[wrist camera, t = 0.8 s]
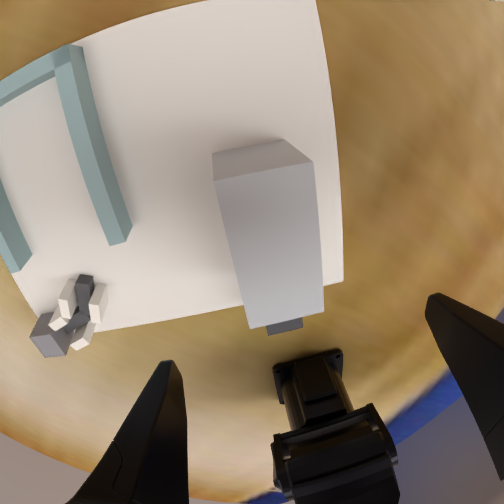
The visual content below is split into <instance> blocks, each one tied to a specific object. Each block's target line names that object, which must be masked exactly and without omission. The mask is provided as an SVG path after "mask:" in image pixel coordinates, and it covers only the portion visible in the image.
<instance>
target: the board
mask: <svg viewBox="0 0 504 504" xmlns="http://www.w3.org/2000/svg"><path fill="white" fill-rule="evenodd" d="M71 44H72V45H76V46H81V47H83V52H84V57H85V62H86V67H87V71H88V76H89V81H90V85H91V89H92V93H93V98H94V102H95V106H96V110H97V113H98V117H99V121H100V125H101V128H102V132H103V136H104V139H105V143H106V146H107V149H108V153H109V156H110V159H111V163H112V166H113V169H114V172H115V175H116V179H117V182H118V185H119V188H120V191H121V194H122V197H123V200H124V202H125V205H126V208H127V211H128V214H129V217H130V220H131V222H132V225H133V227H132V229H131V231H130V233H129V236H128V238H127V240H126V242H124V243H120V244H116V245H112V246H109V244H108V241H107V239H106V236H105V234H104V231H103V229H102V227H101V224H100V221H99V219H98V216H97V214H96V211H95V208H94V206H93V203H92V200H91V198H90V195H89V192H88V189H87V186H86V184H85V181H84V178H83V175H82V172H81V169H80V166H79V163H78V160H77V156H76V153H75V150H74V147H73V143H72V140H71V136H70V133H69V129H68V126H67V122H66V119H65V115H64V111H63V107H62V103H61V99H60V95H59V90H58V86H57V82H56V77H53V78H51V79H49V80H47V81H45V82H43V83H41V84H39V85H37V86H36V87H34V88H32V89H30V90H28V91H26V92H25V93H23V94H21V95H19V96H18V97H16V98H14V99H12V100H11V101H9V102H7V103H6V104H4V105H3V106H1V107H0V179H1V182H2V184H3V187H4V190H5V192H6V195H7V198H8V200H9V203H10V205H11V208H12V210H13V213H14V215H15V217H16V220H17V222H18V224H19V227H20V229H21V231H22V233H23V236H24V238H25V240H26V242H27V244H28V246H29V248H30V250H31V252H32V254H33V255H32V256H31V258H30V259H29V260H28V261H27V263H26V264H25V265H24V267H23V268H22V269H21V271H19V272H15V273H12V274H11V275H12V276H13V278H14V280H15V282H16V283H17V285H18V287H19V289H20V290H21V292H22V294H23V295H24V297H25V299H26V300H27V302H28V304H29V305H30V307H31V308H32V310H33V312H34V313H35V315H36V316H37V318H38V319H39V317H40V315H41V314H45V313H50V312H55V310H56V308H57V306H58V305H59V302H58V298H59V296H60V294H61V292H62V290H63V288H64V286H65V284H66V283H67V281H68V279H72V280H77V279H78V277H79V275H80V274H83V275H90V276H93V279H94V289H95V287H96V285H97V283H100V284H107V295H108V305H107V308H106V311H105V314H104V317H103V320H102V323H101V324H97V323H96V326H95V329H94V332H100V331H107V330H113V329H119V328H125V327H131V326H137V325H142V324H148V323H154V322H159V321H165V320H170V319H175V318H181V317H186V316H191V315H196V314H201V313H206V312H211V311H216V310H221V309H225V308H230V307H235V306H240V305H244V304H243V301H242V297H241V293H240V289H239V285H238V281H237V277H236V273H235V269H234V265H233V261H232V257H231V253H230V248H229V244H228V240H227V236H226V232H225V228H224V224H223V220H222V215H221V211H220V207H219V203H218V199H217V194H216V190H215V186H214V182H213V166H212V154H213V153H217V152H222V151H227V150H231V149H236V148H241V147H246V146H251V145H256V144H262V143H267V142H273V141H278V140H284V139H285V140H286V141H287V142H289V143H290V144H291V145H293V146H294V147H295V148H297V149H298V150H299V151H300V152H302V153H303V154H304V155H305V156H307V157H308V158H309V159H311V160H312V161H313V164H314V173H315V183H316V193H317V204H318V216H319V228H320V242H321V257H322V274H323V286H326V285H330V284H334V283H338V282H342V281H343V232H342V208H341V190H340V175H339V162H338V150H337V140H336V130H335V120H334V112H333V103H332V96H331V88H330V81H329V74H328V67H327V61H326V55H325V49H324V43H323V37H322V32H321V26H320V21H319V16H318V11H317V6H316V2H315V0H208V1H202V2H197V3H193V4H188V5H184V6H179V7H175V8H171V9H167V10H163V11H160V12H156V13H152V14H149V15H146V16H142V17H139V18H136V19H133V20H130V21H127V22H124V23H121V24H118V25H115V26H113V27H110V28H107V29H105V30H102V31H99V32H97V33H94V34H92V35H90V36H87V37H85V38H83V39H80V40H78V41H76V42H74V43H71ZM77 306H79V305H78V304H77ZM77 306H76V307H77ZM75 330H76V329H75ZM75 330H74V331H75ZM94 332H93V333H94ZM73 335H74V334H73Z"/></svg>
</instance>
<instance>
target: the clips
mask: <svg viewBox="0 0 504 504" xmlns="http://www.w3.org/2000/svg"><path fill="white" fill-rule="evenodd" d="M75 282H76V280H72V279H68V281H67V283H66V284H65V286H64V288H63V290H62V292H61V294H60V296H59V298H58V302H59V305H58V306H57V308H56V310H55V312H54V314H53V316H52V318H51V320H50V322H49V324H48V325H49V326H50V327H51V328H52V329H53V330H54V331H57V330H58V329H60V328H62V327H63V326H65V325H66V324H68V322H69V319H71V318H72V315H73V313H74V311H75V308H76V306H77V304H78V298H77V291H76V284H75ZM107 305H108V295H107V284H100V283H97V285H96V287H95V289H94V292H93V294H92V296H91V299H90V301H89V311H90V318H91V320H90V321H88V322H87V323H85V324H83V325H82V326H80V327H78V328H77V329H76V330H75V332H74V335H73V338H72V340H71V343H70V346H72V347H73V348H74V349H75V350H76V351H77V350H79V349H81V348H83V347H85V346H87V345H89V344H90V342H91V338H92V335H93V332H94V329H95V326H96V323H97V324H101V323H102V320H103V317H104V314H105V311H106V308H107Z"/></svg>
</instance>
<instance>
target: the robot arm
mask: <svg viewBox="0 0 504 504" xmlns="http://www.w3.org/2000/svg"><path fill="white" fill-rule="evenodd" d="M425 318H426V320H427V322H428V325H429V327H430V329H431V331H432V333H433V336H434V338H435V340H436V343H437V345H438V347H439V349H440V352H441V353H442V355H443V357H444V359H445V361H446V363H447V365H448V366H449V368H450V370H451V372H452V374H453V376H454V378H455V380H456V381H457V383H458V385H459V387H460V389H461V391H462V393H463V395H464V397H465V399H466V401H467V403H468V405H469V408H470V410H471V412H472V414H473V416H474V418H475V420H476V422H477V425H478V427H479V429H480V431H481V434H482V436H483V438H484V441H485V443H486V445H487V448H488V450H489V453H490V455H491V457H492V460H493V462H494V465H495V468H496V470H497V473H498V476H499V478H500V480H501V481H502V480H503V479H504V324H503V323H501V322H499V321H497V320H495V319H493V318H491V317H489V316H487V315H485V314H483V313H481V312H479V311H477V310H475V309H473V308H471V307H469V306H467V305H464V304H462V303H460V302H458V301H456V300H454V299H452V298H450V297H448V296H446V295H444V294H441V293H435V294H432V295H430V296H429V297H428V300H427V305H426V309H425ZM342 368H343V353H342V350H339V349H338V350H334V351H330V352H327V353H323V354H320V355H316V356H312V357H308V358H304V359H300V360H296V361H292V362H288V363H284V364H279V365H276V366H274V367H273V368H272V370H273V375H274V379H275V384H276V388H277V393H278V397H279V402H280V404H285V407H286V411H287V415H288V419H289V423H290V428H291V431H289V432H286V433H282V434H280V433H278V434H274V435H273V437H274V442H273V443H271V444H270V445H271V450H272V455H273V482H274V485H275V487H277V488H279V489H281V490H282V492H283V494H284V495H285V497H286V499H287V500H288V501H291V500H295V504H398V502H399V498H400V492H399V488H398V484H397V480H396V476H395V472H394V469H393V467H395V466H397V465H398V456H397V452H396V448H395V445H394V442H393V440H392V437H391V435H390V433H389V432H388V430H387V428H386V426H385V424H384V423H383V421H382V419H381V417H380V416H379V414H378V412H377V410H376V409H375V407H374V405H373V403H370V404H367V405H366V406H365V407H362V408H360V409H357V410H354V409H353V406H352V404H351V401H350V399H349V396H348V394H347V391H346V389H345V386H344V384H343V381H342ZM113 440H114V441H112V442H111V444H110V446H109V447H108V449H107V451H106V452H105V454H104V455H103V457H102V459H101V460H100V462H99V463H98V465H97V466H96V467H95V469H94V470H93V472H92V473H91V474H90V476H89V477H88V478H87V480H86V481H85V482H84V483H83V485H82V486H81V487H80V489H79V490H78V491H77V493H76V494H75V495H74V496H73V498H71V499H70V500H69V501H68V502H67V503H65V504H189V491H188V456H187V415H186V406H185V398H184V389H183V380H182V376H181V373H180V372H179V370H178V368H177V366H176V364H175V363H174V361H173V360H165V361H161V362H160V363H159V364H158V366H157V368H156V369H155V371H154V373H153V374H152V376H151V378H150V379H149V381H148V382H147V384H146V386H145V387H144V389H143V391H142V392H141V394H140V396H139V397H138V399H137V401H136V402H135V404H134V406H133V407H132V409H131V411H130V412H129V414H128V416H127V417H126V419H125V421H124V422H123V424H122V426H121V427H120V429H119V431H118V432H117V434H116V436H115V437H114V439H113Z"/></svg>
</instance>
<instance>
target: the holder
mask: <svg viewBox="0 0 504 504" xmlns="http://www.w3.org/2000/svg"><path fill="white" fill-rule="evenodd" d="M53 77H56V82H57V86H58V90H59V95H60V99H61V103H62V107H63V111H64V115H65V119H66V122H67V126H68V129H69V133H70V136H71V140H72V143H73V147H74V150H75V153H76V156H77V160H78V163H79V166H80V169H81V172H82V175H83V178H84V181H85V184H86V186H87V189H88V192H89V195H90V198H91V200H92V203H93V206H94V208H95V211H96V214H97V216H98V219H99V221H100V224H101V227H102V229H103V231H104V234H105V236H106V239H107V241H108V244H109V246H112V245H116V244H120V243H124V242H126V240H127V238H128V236H129V233H130V231H131V229H132V227H133V225H132V222H131V220H130V217H129V214H128V211H127V208H126V205H125V202H124V200H123V197H122V194H121V191H120V188H119V185H118V182H117V179H116V175H115V172H114V169H113V166H112V163H111V159H110V156H109V153H108V149H107V146H106V143H105V139H104V136H103V132H102V128H101V125H100V121H99V117H98V113H97V110H96V106H95V102H94V98H93V93H92V89H91V85H90V81H89V76H88V71H87V67H86V62H85V57H84V52H83V47H81V46H76V45H72V44H66V45H64V46H62V47H60V48H58V49H56V50H54V51H52V52H50V53H48V54H46V55H44V56H42V57H40V58H38V59H36V60H35V61H33V62H31V63H29V64H28V65H26V66H24V67H22V68H21V69H19V70H17V71H16V72H14V73H12V74H11V75H9V76H8V77H6V78H4V79H3V80H1V81H0V107H1V106H3V105H4V104H6V103H7V102H9V101H11V100H12V99H14V98H16V97H18V96H19V95H21V94H23V93H25V92H26V91H28V90H30V89H32V88H34V87H36V86H37V85H39V84H41V83H43V82H45V81H47V80H49V79H51V78H53ZM0 254H1V256H2V258H3V260H4V262H5V264H6V266H7V268H8V270H9V272H10V273H11V274H12V273H15V272H19V271H21V269H22V268H23V267H24V265H25V264H26V263H27V261H28V260H29V259H30V258H31V256H32V255H33V254H32V252H31V250H30V248H29V246H28V244H27V242H26V240H25V238H24V236H23V233H22V231H21V229H20V227H19V224H18V222H17V220H16V217H15V215H14V213H13V210H12V208H11V205H10V203H9V200H8V198H7V195H6V192H5V190H4V187H3V184H2V182H1V179H0Z"/></svg>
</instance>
